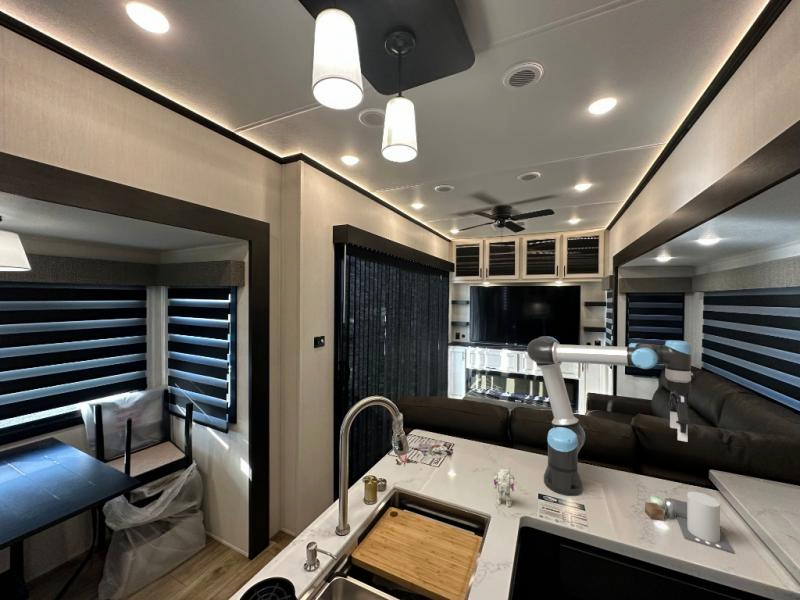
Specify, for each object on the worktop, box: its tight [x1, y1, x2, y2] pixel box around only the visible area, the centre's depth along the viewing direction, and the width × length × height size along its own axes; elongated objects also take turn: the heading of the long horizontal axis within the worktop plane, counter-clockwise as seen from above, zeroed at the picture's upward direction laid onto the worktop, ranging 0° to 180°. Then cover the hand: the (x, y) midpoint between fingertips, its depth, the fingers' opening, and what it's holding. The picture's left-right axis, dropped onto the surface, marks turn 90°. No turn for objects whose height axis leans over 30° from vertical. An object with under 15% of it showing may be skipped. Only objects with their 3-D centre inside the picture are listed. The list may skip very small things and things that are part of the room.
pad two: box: [669, 497, 687, 519], centre depth 119 cm, size 12×12×1 cm
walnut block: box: [644, 501, 665, 522], centre depth 117 cm, size 4×4×4 cm
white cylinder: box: [686, 491, 721, 542], centre depth 108 cm, size 8×8×12 cm
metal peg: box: [664, 497, 676, 520], centre depth 117 cm, size 3×3×6 cm
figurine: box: [493, 465, 515, 508], centre depth 124 cm, size 8×8×15 cm
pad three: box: [676, 516, 735, 554], centre depth 108 cm, size 12×12×1 cm
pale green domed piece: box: [650, 495, 665, 510], centre depth 123 cm, size 4×4×3 cm
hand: (678, 434), depth 122 cm, fingers open, 13 cm apart
